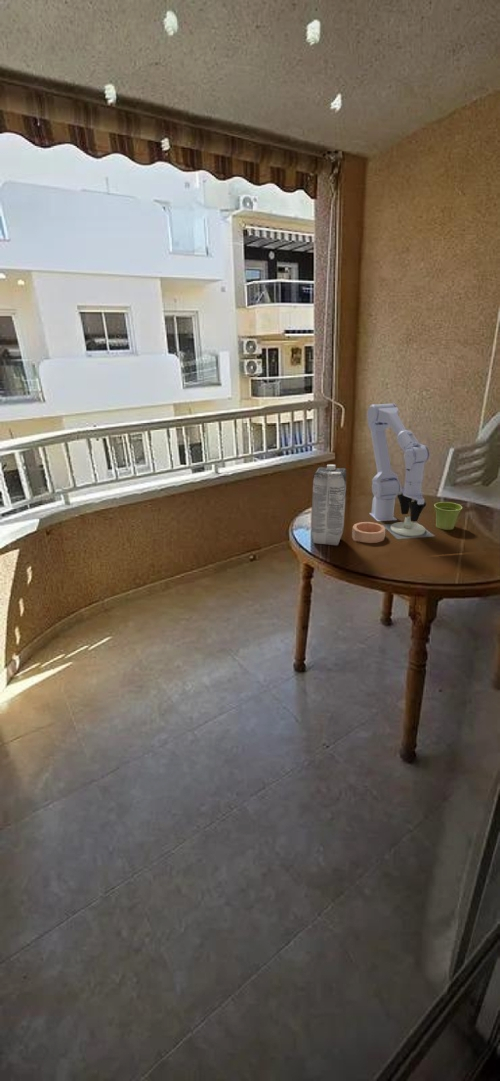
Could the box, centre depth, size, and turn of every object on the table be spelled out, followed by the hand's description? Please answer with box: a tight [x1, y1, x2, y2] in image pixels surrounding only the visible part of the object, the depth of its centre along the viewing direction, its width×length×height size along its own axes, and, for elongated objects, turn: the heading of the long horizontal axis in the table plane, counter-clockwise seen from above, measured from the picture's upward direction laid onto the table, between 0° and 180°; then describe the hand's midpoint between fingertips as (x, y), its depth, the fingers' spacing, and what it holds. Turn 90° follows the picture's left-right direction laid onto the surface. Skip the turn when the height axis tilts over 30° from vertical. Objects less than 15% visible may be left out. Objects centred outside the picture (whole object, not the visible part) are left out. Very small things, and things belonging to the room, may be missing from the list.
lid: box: [390, 515, 426, 537], centre depth 159 cm, size 12×12×5 cm
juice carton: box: [311, 464, 347, 546], centre depth 149 cm, size 9×10×27 cm
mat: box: [382, 521, 435, 540], centre depth 160 cm, size 14×14×1 cm
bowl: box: [351, 521, 387, 544], centre depth 155 cm, size 11×11×4 cm
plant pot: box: [433, 501, 463, 531], centre depth 161 cm, size 9×9×9 cm
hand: (409, 517), depth 158 cm, fingers open, 7 cm apart
